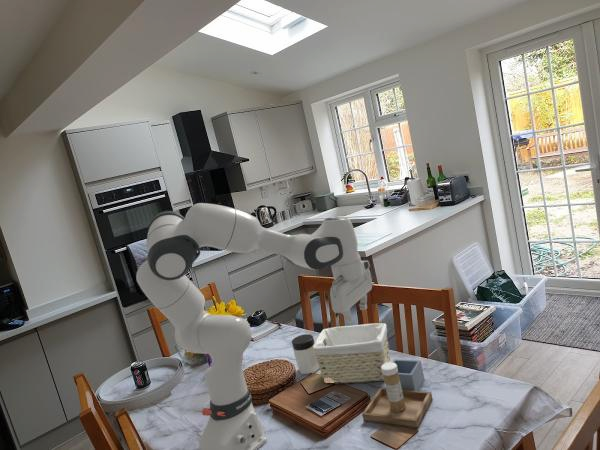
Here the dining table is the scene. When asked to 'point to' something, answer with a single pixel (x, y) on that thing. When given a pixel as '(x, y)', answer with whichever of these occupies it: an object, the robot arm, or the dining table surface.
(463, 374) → the dining table surface
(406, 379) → the blue-grey square bin
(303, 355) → the jar
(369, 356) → the storage basket
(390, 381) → the sprinkles bottle
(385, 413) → the tray
